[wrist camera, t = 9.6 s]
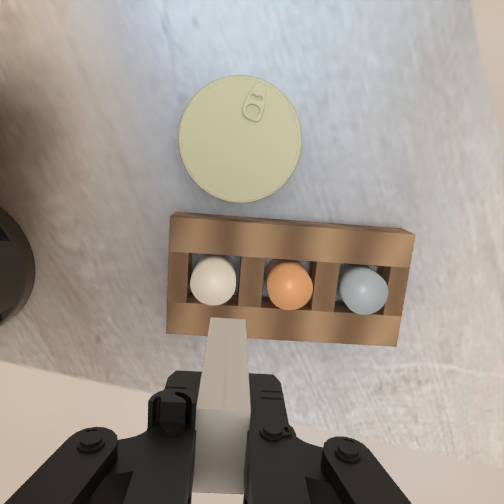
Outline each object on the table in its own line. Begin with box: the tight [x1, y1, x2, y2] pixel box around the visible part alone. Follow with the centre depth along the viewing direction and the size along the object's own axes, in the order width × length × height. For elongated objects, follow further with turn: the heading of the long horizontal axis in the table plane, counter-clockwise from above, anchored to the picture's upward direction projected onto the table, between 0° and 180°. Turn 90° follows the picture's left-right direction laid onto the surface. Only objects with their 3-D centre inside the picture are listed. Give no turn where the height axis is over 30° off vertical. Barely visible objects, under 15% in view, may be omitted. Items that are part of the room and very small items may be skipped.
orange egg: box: [265, 259, 313, 310], centre depth 42 cm, size 4×4×5 cm
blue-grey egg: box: [336, 263, 388, 315], centre depth 43 cm, size 4×4×5 cm
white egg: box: [190, 254, 236, 306], centre depth 42 cm, size 4×4×5 cm
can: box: [178, 75, 302, 203], centre depth 36 cm, size 9×9×12 cm
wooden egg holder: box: [166, 212, 415, 347], centre depth 43 cm, size 24×12×4 cm, turn 85°
